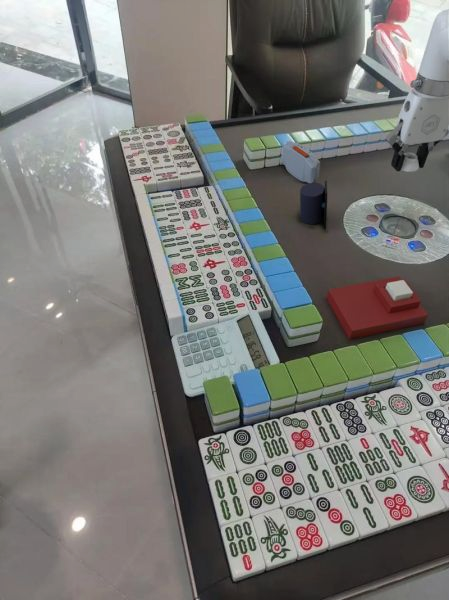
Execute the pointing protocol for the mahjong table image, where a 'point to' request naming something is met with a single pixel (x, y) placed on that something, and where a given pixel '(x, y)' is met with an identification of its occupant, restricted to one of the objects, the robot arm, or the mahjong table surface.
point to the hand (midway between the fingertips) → (407, 166)
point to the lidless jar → (410, 163)
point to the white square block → (398, 290)
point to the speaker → (313, 203)
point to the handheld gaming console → (300, 162)
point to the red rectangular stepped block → (374, 308)
